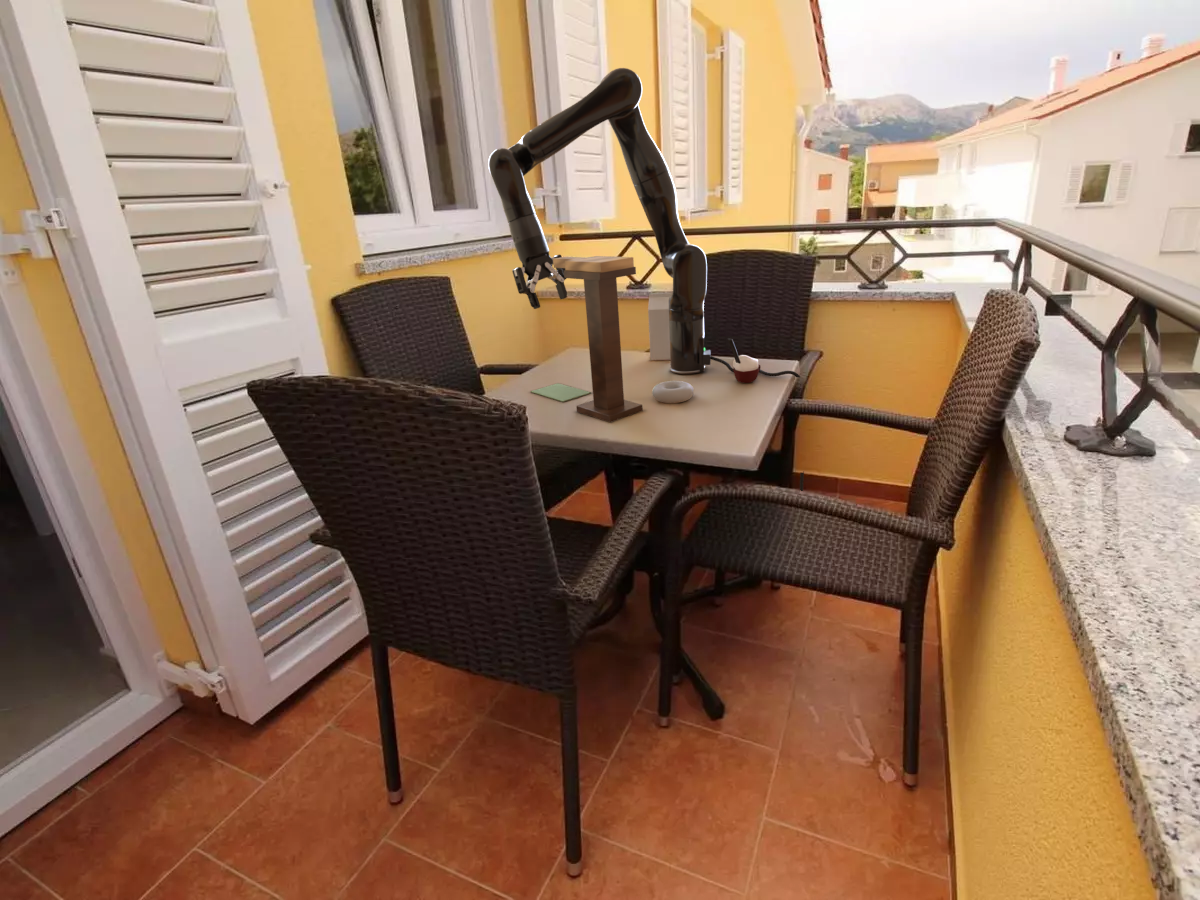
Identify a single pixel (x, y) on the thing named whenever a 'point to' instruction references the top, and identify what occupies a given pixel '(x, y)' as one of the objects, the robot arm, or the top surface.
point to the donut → (672, 391)
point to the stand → (604, 345)
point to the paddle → (593, 263)
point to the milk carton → (659, 326)
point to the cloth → (560, 392)
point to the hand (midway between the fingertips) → (550, 303)
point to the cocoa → (744, 366)
